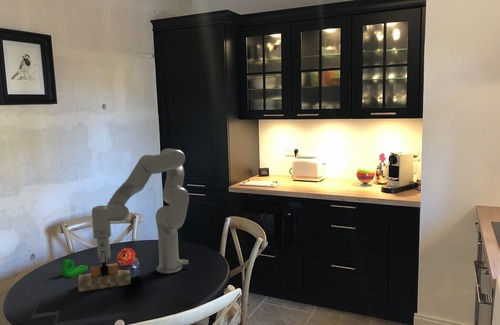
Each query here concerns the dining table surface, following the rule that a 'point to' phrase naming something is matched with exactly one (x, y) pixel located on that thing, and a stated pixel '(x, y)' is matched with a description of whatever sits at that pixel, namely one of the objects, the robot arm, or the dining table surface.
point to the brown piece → (97, 271)
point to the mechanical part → (72, 269)
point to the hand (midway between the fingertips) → (104, 272)
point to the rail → (104, 280)
